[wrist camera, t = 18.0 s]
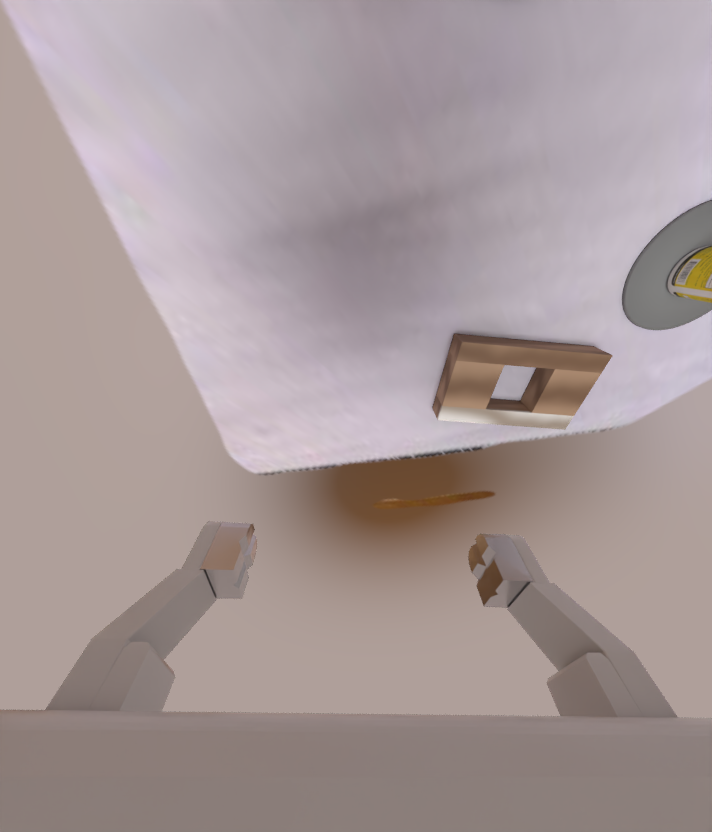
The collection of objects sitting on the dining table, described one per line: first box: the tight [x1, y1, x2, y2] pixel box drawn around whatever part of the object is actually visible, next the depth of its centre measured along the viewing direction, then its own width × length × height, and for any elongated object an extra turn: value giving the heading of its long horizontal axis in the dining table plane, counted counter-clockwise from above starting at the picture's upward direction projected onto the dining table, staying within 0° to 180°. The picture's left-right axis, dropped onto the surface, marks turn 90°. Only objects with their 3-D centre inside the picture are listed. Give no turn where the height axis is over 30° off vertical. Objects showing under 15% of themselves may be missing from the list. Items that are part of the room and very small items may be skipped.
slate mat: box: [622, 200, 712, 330], centre depth 33 cm, size 14×14×1 cm
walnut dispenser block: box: [433, 334, 613, 429], centre depth 40 cm, size 12×20×3 cm, turn 85°
